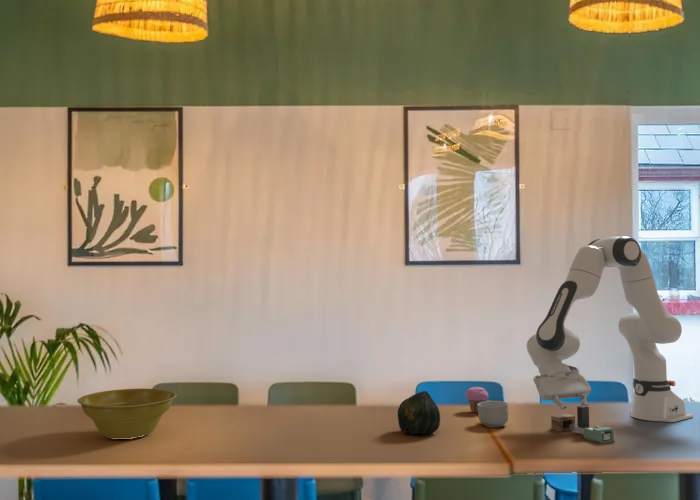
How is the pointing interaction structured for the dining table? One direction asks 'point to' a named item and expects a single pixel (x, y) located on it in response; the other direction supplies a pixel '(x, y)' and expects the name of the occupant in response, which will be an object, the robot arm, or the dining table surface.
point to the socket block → (562, 422)
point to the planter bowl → (126, 410)
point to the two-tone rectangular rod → (585, 422)
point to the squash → (419, 414)
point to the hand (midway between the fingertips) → (575, 407)
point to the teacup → (493, 413)
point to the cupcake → (476, 397)
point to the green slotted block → (598, 434)
